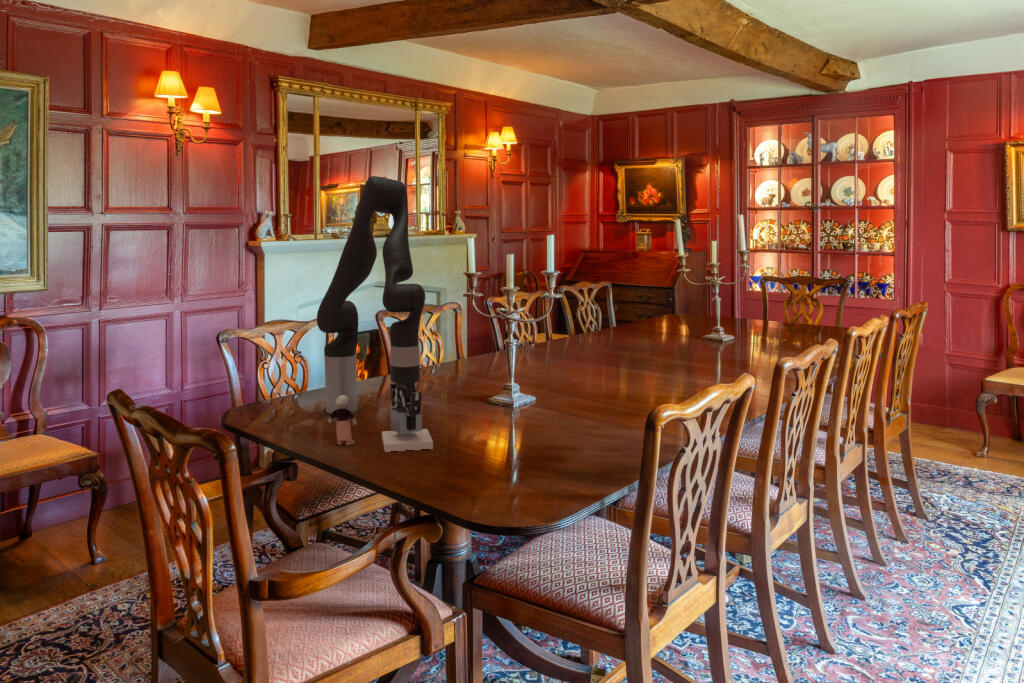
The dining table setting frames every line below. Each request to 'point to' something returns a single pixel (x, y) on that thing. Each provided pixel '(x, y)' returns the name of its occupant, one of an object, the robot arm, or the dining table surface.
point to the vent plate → (406, 441)
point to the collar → (403, 420)
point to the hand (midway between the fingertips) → (406, 426)
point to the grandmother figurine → (343, 421)
